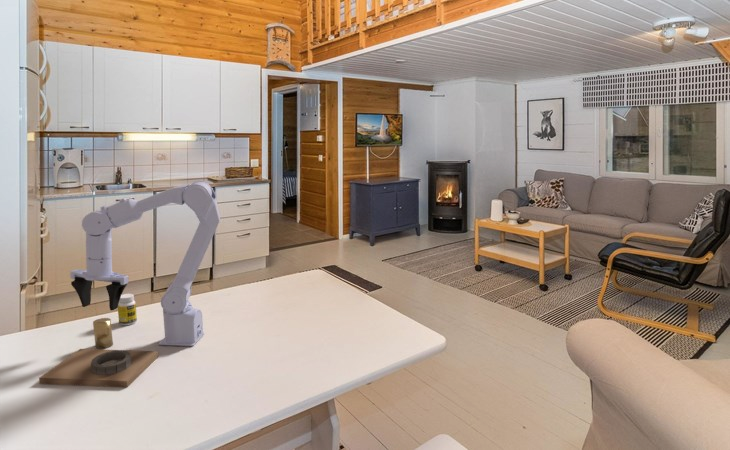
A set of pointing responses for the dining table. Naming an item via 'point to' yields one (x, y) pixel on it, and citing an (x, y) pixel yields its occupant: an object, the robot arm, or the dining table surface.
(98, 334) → the cylinder
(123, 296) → the supplement bottle
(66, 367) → the jig board
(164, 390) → the dining table surface
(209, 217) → the robot arm
